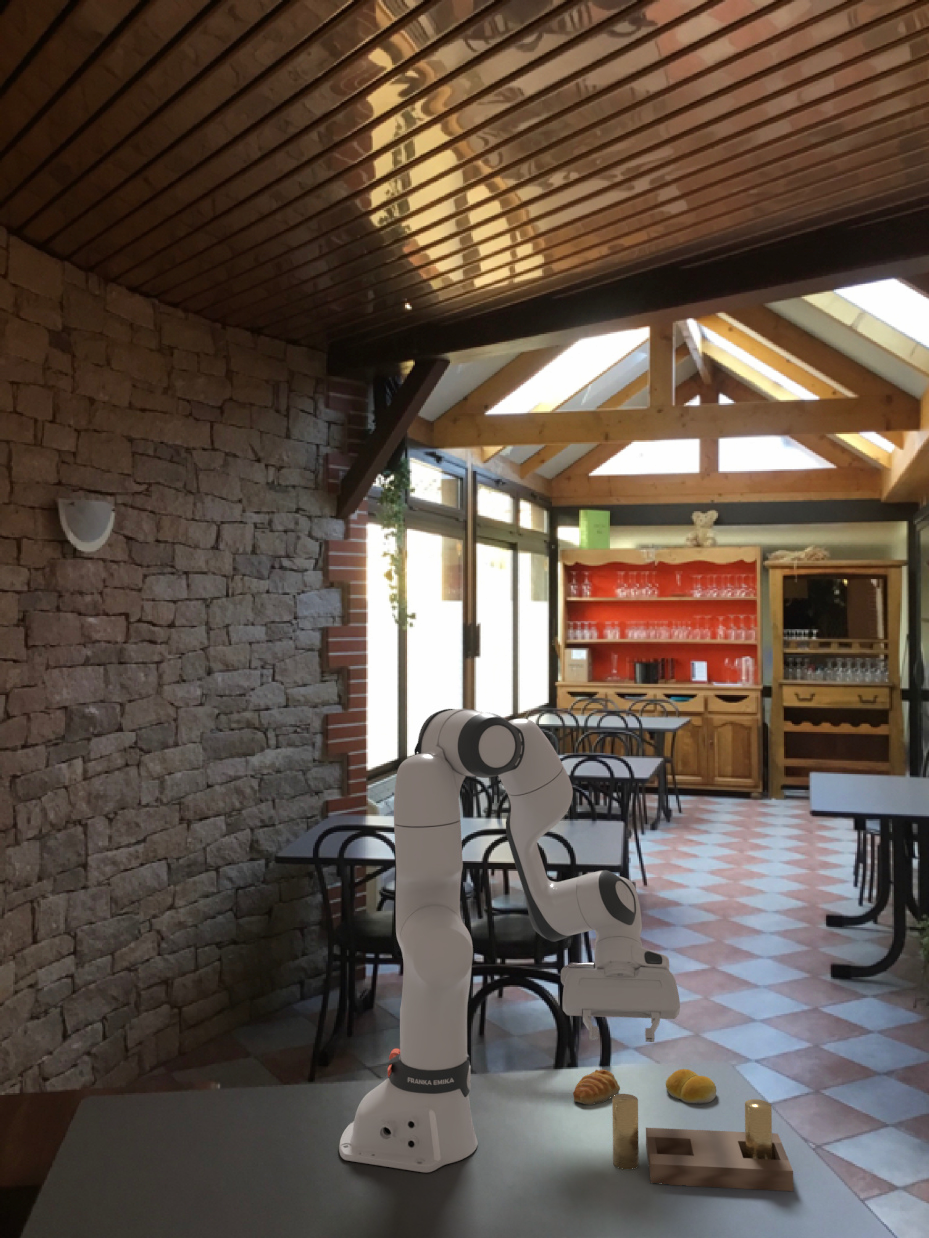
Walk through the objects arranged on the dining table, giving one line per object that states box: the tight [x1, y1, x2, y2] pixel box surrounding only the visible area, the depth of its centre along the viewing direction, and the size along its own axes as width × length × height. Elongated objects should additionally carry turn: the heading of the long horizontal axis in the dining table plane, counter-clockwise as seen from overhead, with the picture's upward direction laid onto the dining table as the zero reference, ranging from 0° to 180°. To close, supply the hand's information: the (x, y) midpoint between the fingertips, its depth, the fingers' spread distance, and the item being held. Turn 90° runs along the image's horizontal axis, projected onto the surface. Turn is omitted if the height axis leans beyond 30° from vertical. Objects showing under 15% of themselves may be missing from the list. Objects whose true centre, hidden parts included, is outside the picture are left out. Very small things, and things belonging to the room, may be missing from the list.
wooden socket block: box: [645, 1127, 794, 1192], centre depth 162 cm, size 21×12×3 cm, turn 84°
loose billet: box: [611, 1093, 640, 1170], centre depth 164 cm, size 4×4×10 cm
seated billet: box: [744, 1098, 773, 1160], centre depth 161 cm, size 4×4×10 cm
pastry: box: [572, 1069, 621, 1106], centre depth 188 cm, size 9×7×4 cm
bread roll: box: [665, 1068, 717, 1105], centre depth 189 cm, size 8×9×4 cm
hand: (621, 1039), depth 176 cm, fingers open, 8 cm apart
